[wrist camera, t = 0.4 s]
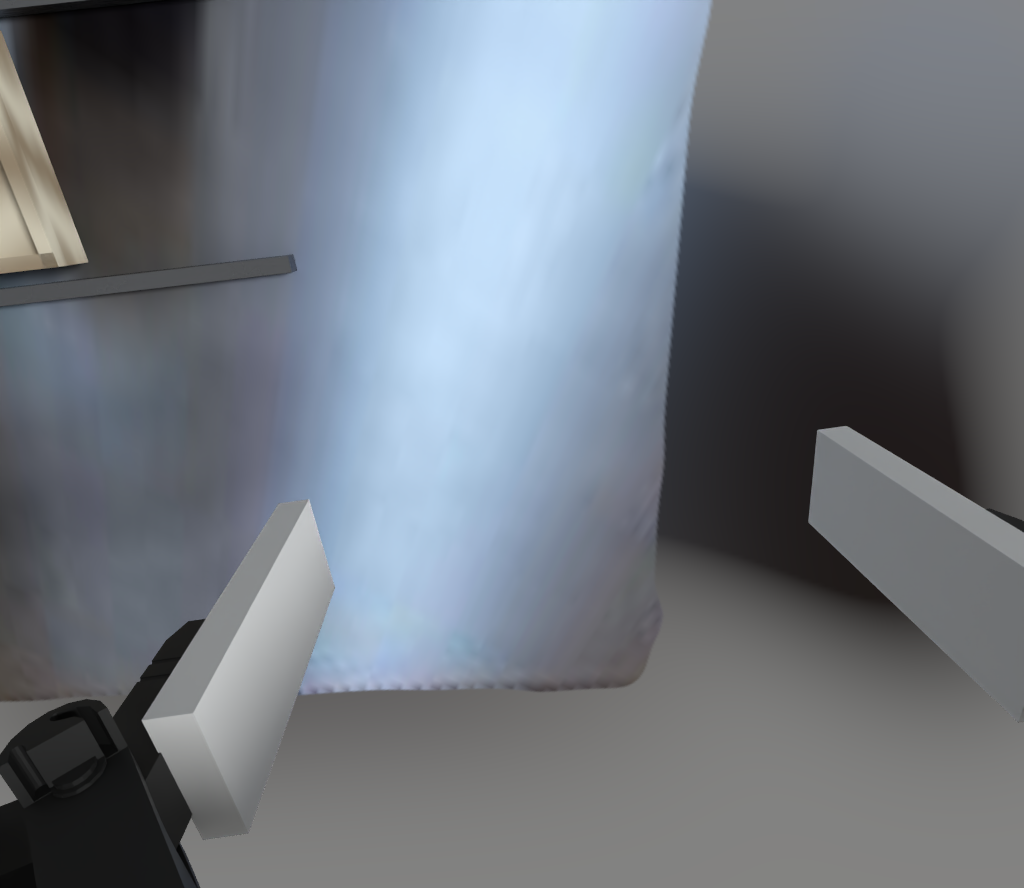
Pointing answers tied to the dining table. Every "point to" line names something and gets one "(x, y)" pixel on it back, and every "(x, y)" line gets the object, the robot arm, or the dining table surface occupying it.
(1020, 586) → the robot arm
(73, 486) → the dining table surface
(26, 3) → the track
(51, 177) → the wooden tray
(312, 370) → the dining table surface
